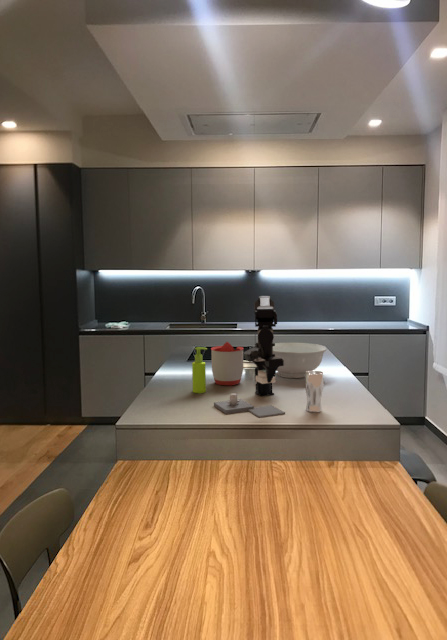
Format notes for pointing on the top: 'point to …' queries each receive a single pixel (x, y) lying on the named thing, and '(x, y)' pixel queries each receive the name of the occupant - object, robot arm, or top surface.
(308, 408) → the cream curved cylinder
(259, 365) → the robot arm
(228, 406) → the plinth
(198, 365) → the soap dispenser
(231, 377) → the citrus juicer
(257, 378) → the cream domed square block
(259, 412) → the mat
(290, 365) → the bowl
